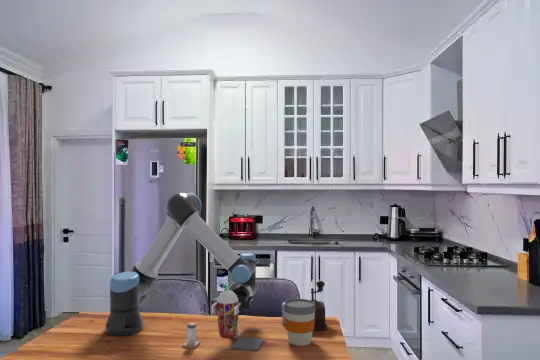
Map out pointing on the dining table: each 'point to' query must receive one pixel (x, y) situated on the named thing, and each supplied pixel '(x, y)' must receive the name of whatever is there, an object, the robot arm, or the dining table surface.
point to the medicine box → (283, 314)
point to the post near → (191, 336)
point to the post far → (237, 332)
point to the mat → (248, 343)
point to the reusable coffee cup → (299, 321)
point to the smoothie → (227, 313)
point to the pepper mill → (319, 308)
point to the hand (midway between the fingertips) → (223, 310)
